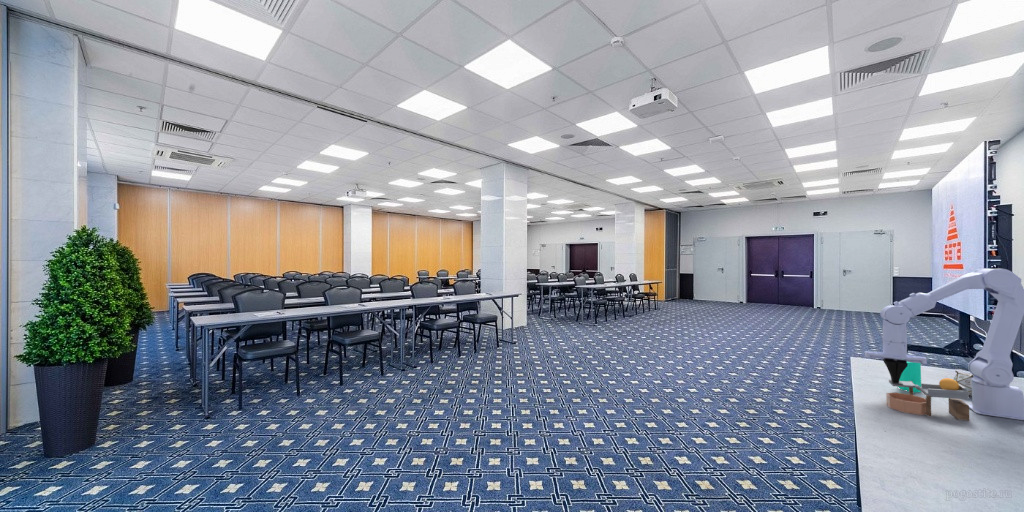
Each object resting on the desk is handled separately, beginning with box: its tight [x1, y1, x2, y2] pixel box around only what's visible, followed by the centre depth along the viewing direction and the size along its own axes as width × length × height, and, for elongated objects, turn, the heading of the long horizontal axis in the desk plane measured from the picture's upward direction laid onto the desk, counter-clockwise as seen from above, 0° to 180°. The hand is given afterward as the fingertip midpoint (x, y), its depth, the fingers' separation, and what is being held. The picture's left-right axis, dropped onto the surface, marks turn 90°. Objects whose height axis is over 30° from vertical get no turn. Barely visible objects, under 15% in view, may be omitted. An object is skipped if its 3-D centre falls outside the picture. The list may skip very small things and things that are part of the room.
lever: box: [888, 379, 970, 400], centre depth 120 cm, size 14×15×3 cm
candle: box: [899, 362, 922, 393], centre depth 137 cm, size 6×6×12 cm
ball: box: [938, 377, 959, 390], centre depth 114 cm, size 4×4×4 cm
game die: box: [952, 370, 973, 396], centre depth 130 cm, size 9×8×10 cm
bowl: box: [885, 392, 927, 416], centre depth 119 cm, size 9×9×4 cm
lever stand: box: [908, 381, 970, 421], centre depth 118 cm, size 9×17×6 cm, turn 146°
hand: (895, 382), depth 127 cm, fingers closed, pressing on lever
